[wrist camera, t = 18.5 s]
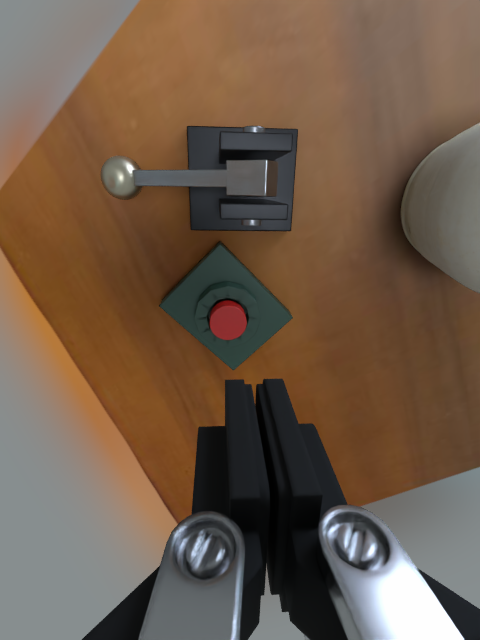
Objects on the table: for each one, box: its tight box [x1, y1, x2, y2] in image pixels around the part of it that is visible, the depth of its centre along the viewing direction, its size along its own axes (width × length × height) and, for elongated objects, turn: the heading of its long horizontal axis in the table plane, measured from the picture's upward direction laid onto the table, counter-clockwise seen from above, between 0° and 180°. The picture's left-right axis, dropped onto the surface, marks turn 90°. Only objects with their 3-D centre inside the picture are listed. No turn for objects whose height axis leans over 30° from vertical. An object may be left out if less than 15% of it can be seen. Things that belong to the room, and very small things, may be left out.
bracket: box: [187, 126, 298, 231], centre depth 27 cm, size 10×9×13 cm
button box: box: [159, 241, 293, 370], centre depth 35 cm, size 11×9×4 cm
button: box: [210, 300, 247, 340], centre depth 33 cm, size 4×4×2 cm
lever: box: [101, 156, 278, 200], centre depth 24 cm, size 14×3×3 cm, turn 89°
